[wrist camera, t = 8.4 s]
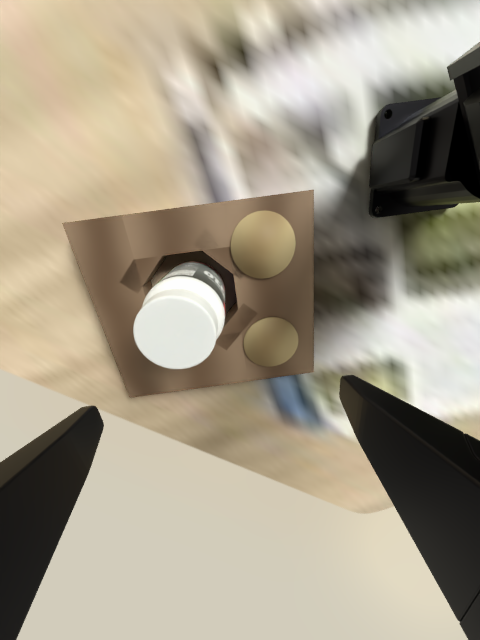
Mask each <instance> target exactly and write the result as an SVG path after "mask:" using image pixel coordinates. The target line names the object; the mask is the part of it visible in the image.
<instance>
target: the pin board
mask: <svg viewBox="0 0 480 640" xmlns="http://www.w3.org/2000/svg"><path fill="white" fill-rule="evenodd" d="M62 224H63V226H64V229H65V232H66V234H67V237H68V239H69V242H70V244H71V247H72V250H73V252H74V255H75V257H76V260H77V263H78V265H79V268H80V270H81V273H82V275H83V278H84V281H85V283H86V286H87V288H88V291H89V294H90V296H91V299H92V301H93V304H94V306H95V309H96V312H97V314H98V317H99V319H100V322H101V324H102V327H103V330H104V332H105V335H106V337H107V340H108V343H109V345H110V348H111V350H112V353H113V355H114V358H115V361H116V363H117V366H118V368H119V371H120V374H121V376H122V379H123V381H124V384H125V386H126V389H127V392H128V394H129V397H137V396H145V395H152V394H159V393H166V392H173V391H181V390H188V389H195V388H202V387H209V386H217V385H224V384H231V383H238V382H245V381H253V380H260V379H267V378H274V377H281V376H289V375H296V374H303V373H310V372H314V190H309V191H301V192H293V193H286V194H278V195H271V196H263V197H256V198H248V199H241V200H233V201H226V202H218V203H211V204H203V205H195V206H188V207H180V208H173V209H165V210H158V211H150V212H143V213H135V214H128V215H120V216H113V217H105V218H97V219H90V220H82V221H75V222H67V223H62ZM201 250H202V251H203V252H205V253H206V254H207V255H209V256H210V257H211V258H212V259H214V260H215V261H216V262H218V263H219V264H220V265H222V266H223V267H224V268H226V269H227V270H228V271H230V272H231V273H232V274H233V276H234V283H235V291H236V298H237V302H236V303H235V304H234V305H233V307H232V308H231V309H230V310H229V312H228V313H227V314H226V315H225V321H224V326H223V329H222V332H221V334H220V336H219V337H218V338H217V340H216V343H215V346H214V348H213V350H212V352H211V353H210V355H209V356H208V357H207V358H206V359H205V360H204V361H202V362H201V363H199V364H198V365H196V366H193V367H190V368H186V369H169V368H165V367H162V366H159V365H157V364H155V363H153V362H151V361H150V360H149V359H147V358H146V357H145V356H144V355H143V354H142V352H141V351H140V350H139V348H138V347H137V344H136V342H135V339H134V334H133V327H134V321H135V318H136V316H137V314H138V312H139V311H140V310H141V308H142V305H143V302H144V299H145V297H146V296H147V294H148V292H149V291H150V290H151V289H152V284H151V279H152V277H153V276H154V274H155V273H156V271H157V269H158V268H159V266H160V265H161V263H162V262H163V260H164V259H165V257H166V256H167V255H171V254H179V253H186V252H194V251H201Z"/></svg>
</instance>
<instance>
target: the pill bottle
mask: <svg viewBox="0 0 480 640" xmlns="http://www.w3.org/2000/svg"><path fill="white" fill-rule="evenodd" d="M224 321H225V286H224V282H223V280H222V278H221V276H220V274H219V273H218V272H217V271H216V270H215V269H214V268H213V267H211V266H210V265H208V264H206V263H203V262H198V261H188V262H184V263H181V264H179V265H178V266H176V267H175V268H173V269H172V270H171V271H170V272H169V273H168V274H167V275H166V276H165V277H164V278H162V279H161V280H160V281H159V282H158V283H157V284H156V285H155V286H154V287H152V289H151V290H150V291H149V292H148V294H147V296H146V297H145V299H144V302H143V305H142V308H141V310H140V311H139V312H138V314H137V316H136V318H135V321H134V327H133V334H134V339H135V342H136V344H137V347H138V348H139V350H140V351H141V352H142V354H143V355H144V356H145V357H146V358H147V359H149V360H150V361H151V362H153V363H155V364H157V365H159V366H162V367H165V368H169V369H186V368H190V367H193V366H196V365H198V364H199V363H201V362H202V361H204V360H205V359H206V358H207V357H208V356H209V355H210V353H211V352H212V350H213V348H214V346H215V343H216V340H217V338H218V337H219V336H220V334H221V332H222V329H223V326H224Z"/></svg>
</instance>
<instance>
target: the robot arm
mask: <svg viewBox="0 0 480 640" xmlns="http://www.w3.org/2000/svg"><path fill="white" fill-rule="evenodd" d="M447 69H448V73H449V77H450V80H452V79H454V83H455V87H456V90H454V91H453V92H451V93H449V94H447V95H445V96H444V97H441V98H433V99H425V100H418V101H410V102H402V103H395V104H389V105H386V106H385V107H383V108H382V109H381V110H380V111H379V113H378V115H377V122H376V134H375V143H374V144H373V147H372V158H371V171H370V183H369V186H370V188H371V193H370V205H369V214H370V216H371V217H375V218H376V217H385V216H393V215H400V214H408V213H415V212H423V211H430V210H438V209H445V208H453V207H455V206H457V205H458V204H459V203H472V202H480V42H479V43H478V44H476V45H475V46H474V47H472V48H471V49H470V50H469V51H467V52H466V53H465V54H463V55H462V56H461V57H459V58H458V59H457V60H455V61H454V62H453V63H452V64H450V65H449V66H448V67H447ZM385 112H387V113H388V119H386V118H385V116H384V114H385ZM377 207H379V212H378V213H376V211H375V210H376V208H377ZM339 395H340V400H341V402H342V405H343V407H344V409H345V412H346V414H347V416H348V419H349V421H350V423H351V426H352V428H353V430H354V433H355V435H356V437H357V439H358V441H359V443H360V445H361V447H362V449H363V451H364V452H365V454H366V456H367V458H368V460H369V461H370V463H371V465H372V467H373V469H374V470H375V472H376V474H377V476H378V478H379V479H380V481H381V483H382V485H383V487H384V488H385V490H386V492H387V494H388V496H389V497H390V499H391V501H392V503H393V505H394V506H395V508H396V510H397V512H398V513H399V515H400V517H401V519H402V521H403V522H404V524H405V526H406V528H407V530H408V531H409V533H410V535H411V537H412V539H413V540H414V542H415V544H416V546H417V548H418V549H419V551H420V553H421V555H422V557H423V558H424V560H425V562H426V564H427V566H428V567H429V569H430V571H431V573H432V575H433V576H434V578H435V580H436V582H437V584H438V585H439V587H440V589H441V591H442V593H443V594H444V596H445V598H446V599H447V602H448V603H449V605H450V607H451V609H452V611H453V612H454V614H455V616H456V618H457V619H458V621H460V625H461V627H462V629H463V631H464V632H465V634H466V636H467V638H468V640H480V441H479V440H478V439H476V438H474V437H472V436H470V435H468V434H464V433H463V432H462V431H460V430H458V429H456V428H454V427H452V426H450V425H449V424H447V423H445V422H443V421H441V420H439V419H437V418H435V417H433V416H431V415H429V414H427V413H426V412H424V411H422V410H420V409H418V408H416V407H414V406H412V405H410V404H408V403H406V402H404V401H402V400H401V399H399V398H397V397H395V396H393V395H391V394H389V393H387V392H385V391H383V390H381V389H379V388H377V387H376V386H374V385H372V384H370V383H368V382H366V381H364V380H362V379H360V378H358V377H356V376H354V375H346V376H342V377H341V380H340V392H339ZM103 427H104V424H103V420H102V418H101V416H100V413H99V411H98V409H97V407H96V406H86V407H82V408H80V409H79V410H77V411H76V412H74V413H73V414H71V415H70V416H68V417H67V418H66V419H64V420H62V421H61V422H60V423H58V424H57V425H55V426H54V427H52V428H51V429H49V430H48V431H46V432H45V433H43V434H42V435H40V436H39V437H37V438H36V439H34V440H33V441H31V442H30V443H28V444H27V445H25V446H24V447H23V448H21V449H20V450H18V451H17V452H15V453H14V454H12V455H11V456H9V457H8V458H6V459H5V460H3V461H2V462H0V640H16V639H17V636H18V634H19V632H20V630H21V627H22V625H23V623H24V620H25V618H26V616H27V614H28V611H29V609H30V607H31V604H32V602H33V600H34V598H35V595H36V593H37V591H38V588H39V586H40V584H41V581H42V579H43V577H44V574H45V572H46V570H47V568H48V565H49V563H50V560H51V558H52V556H53V553H54V551H55V549H56V547H57V545H58V542H59V540H60V538H61V535H62V533H63V531H64V529H65V526H66V524H67V522H68V519H69V517H70V515H71V512H72V510H73V508H74V505H75V503H76V501H77V498H78V496H79V494H80V492H81V489H82V487H83V485H84V482H85V480H86V478H87V475H88V473H89V470H90V467H91V465H92V462H93V458H94V455H95V452H96V449H97V446H98V443H99V440H100V437H101V434H102V431H103Z"/></svg>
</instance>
